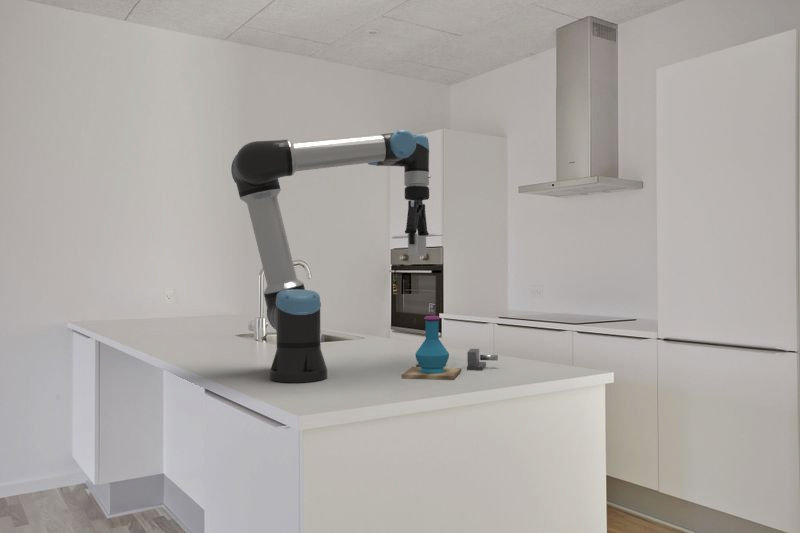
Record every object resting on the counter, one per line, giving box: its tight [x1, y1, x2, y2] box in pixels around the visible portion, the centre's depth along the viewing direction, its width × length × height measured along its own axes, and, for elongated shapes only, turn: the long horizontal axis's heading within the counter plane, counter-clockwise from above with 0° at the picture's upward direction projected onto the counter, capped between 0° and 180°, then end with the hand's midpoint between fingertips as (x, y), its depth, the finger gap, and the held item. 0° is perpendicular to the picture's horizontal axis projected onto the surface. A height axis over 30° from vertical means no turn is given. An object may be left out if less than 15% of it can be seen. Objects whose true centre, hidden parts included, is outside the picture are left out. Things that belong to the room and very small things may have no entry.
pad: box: [401, 366, 462, 381], centre depth 183 cm, size 14×14×1 cm
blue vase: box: [415, 315, 450, 373], centre depth 183 cm, size 9×9×15 cm
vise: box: [415, 348, 499, 371], centre depth 196 cm, size 23×10×5 cm, turn 77°
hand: (417, 256), depth 204 cm, fingers open, 13 cm apart
